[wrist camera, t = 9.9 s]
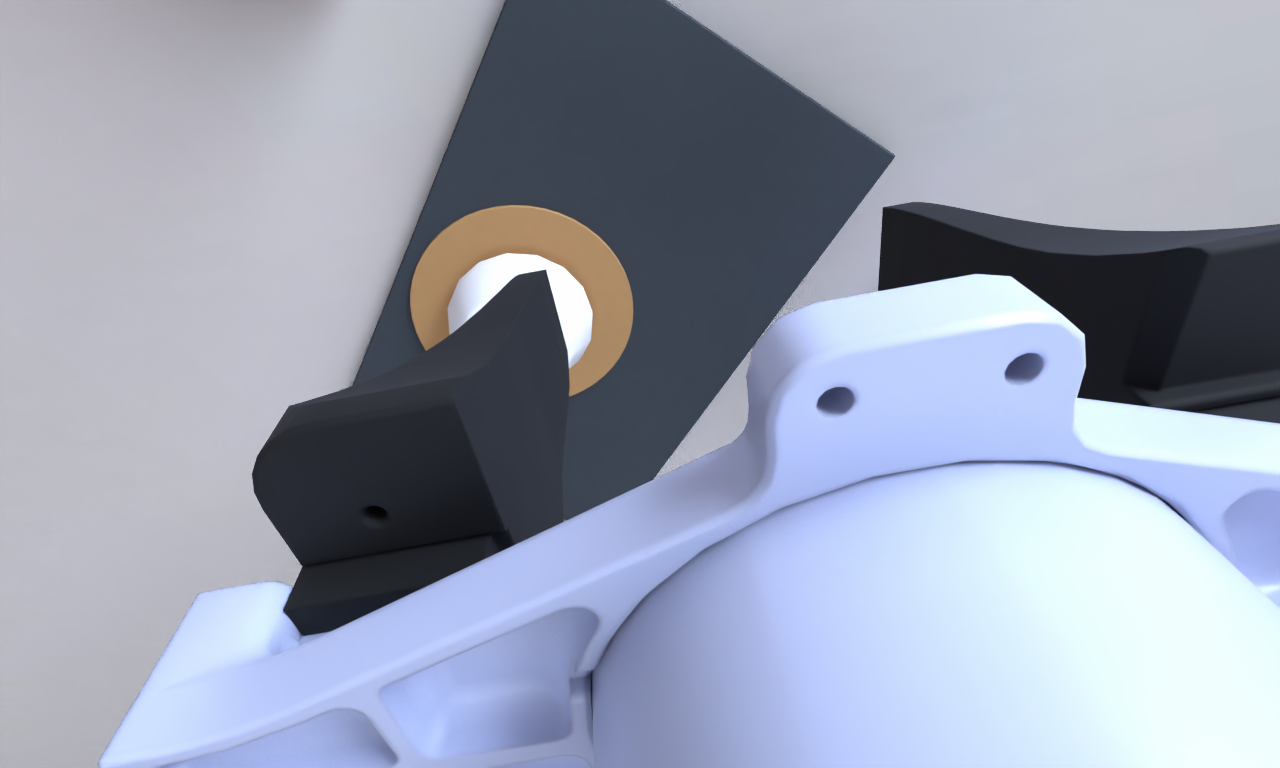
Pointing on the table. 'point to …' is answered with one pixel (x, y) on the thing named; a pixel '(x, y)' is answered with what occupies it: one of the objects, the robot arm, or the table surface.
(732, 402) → the table surface
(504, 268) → the lidless jar
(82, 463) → the table surface
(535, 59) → the mat
